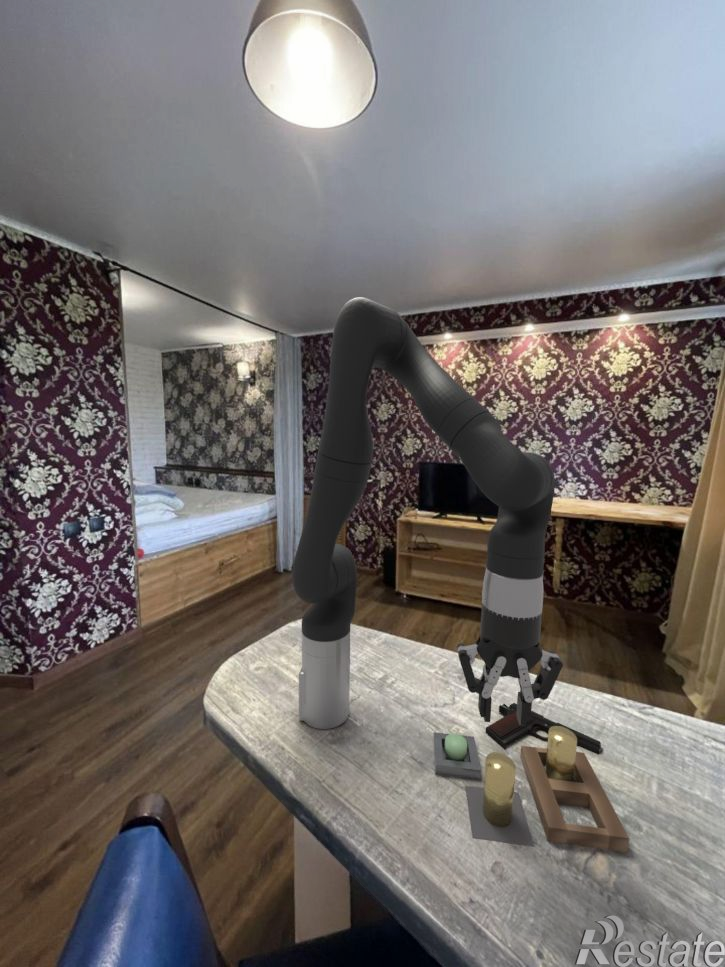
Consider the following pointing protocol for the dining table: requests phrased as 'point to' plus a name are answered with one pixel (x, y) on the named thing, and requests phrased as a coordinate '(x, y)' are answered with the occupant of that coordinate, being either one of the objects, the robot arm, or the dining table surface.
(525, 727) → the handgun
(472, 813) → the mat
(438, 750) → the button housing
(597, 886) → the dining table surface
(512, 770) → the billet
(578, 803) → the brown wooden rectangular frame
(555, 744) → the billet seated
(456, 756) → the button
